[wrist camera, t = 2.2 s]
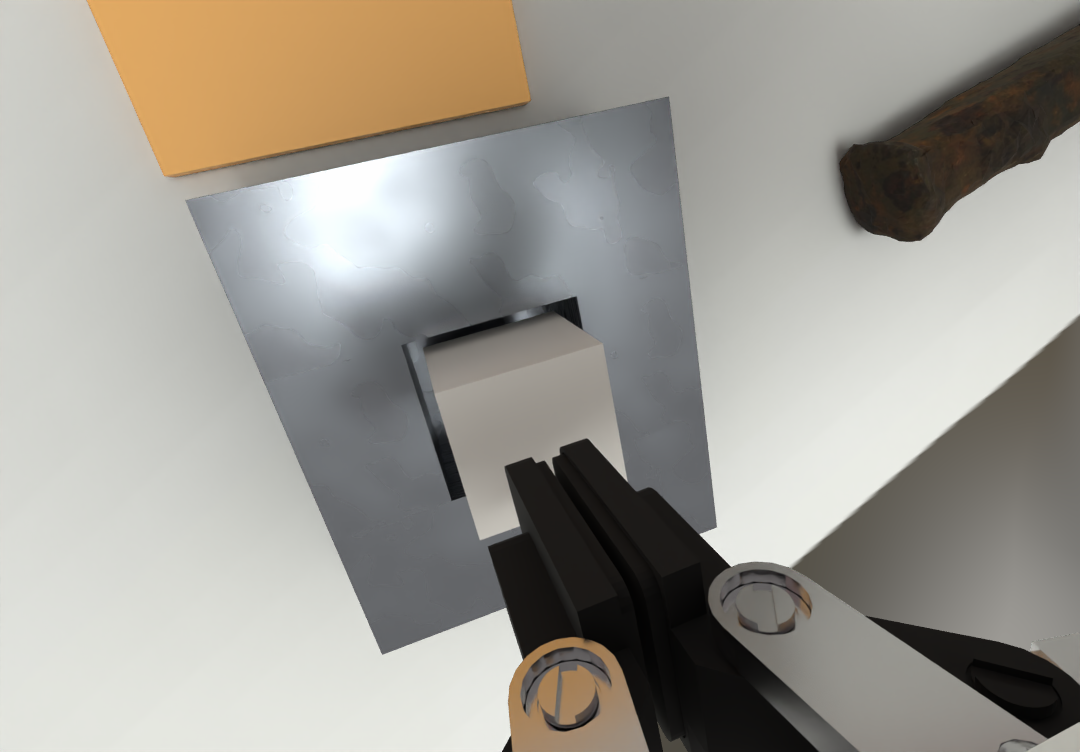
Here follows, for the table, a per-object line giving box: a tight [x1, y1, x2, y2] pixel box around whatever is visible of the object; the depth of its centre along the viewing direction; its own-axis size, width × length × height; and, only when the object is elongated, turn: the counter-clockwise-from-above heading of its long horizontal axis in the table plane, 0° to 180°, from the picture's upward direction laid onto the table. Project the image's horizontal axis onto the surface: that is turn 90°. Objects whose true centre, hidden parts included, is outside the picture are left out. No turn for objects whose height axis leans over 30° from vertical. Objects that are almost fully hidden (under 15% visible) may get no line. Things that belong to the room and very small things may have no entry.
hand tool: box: [839, 25, 1080, 242], centre depth 21 cm, size 19×4×5 cm, turn 117°
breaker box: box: [185, 97, 717, 655], centre depth 18 cm, size 12×14×5 cm
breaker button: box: [423, 311, 628, 540], centre depth 15 cm, size 4×4×4 cm
